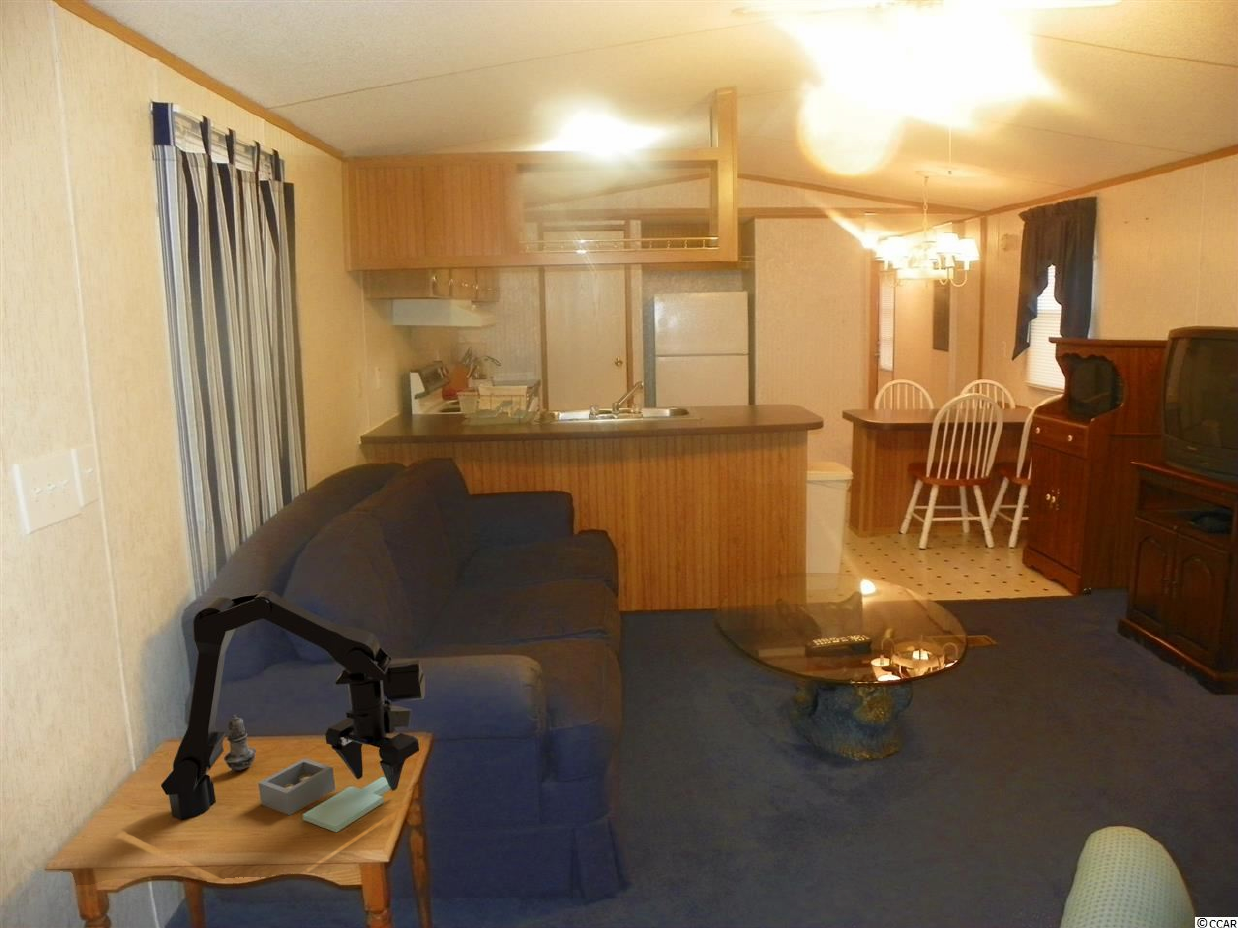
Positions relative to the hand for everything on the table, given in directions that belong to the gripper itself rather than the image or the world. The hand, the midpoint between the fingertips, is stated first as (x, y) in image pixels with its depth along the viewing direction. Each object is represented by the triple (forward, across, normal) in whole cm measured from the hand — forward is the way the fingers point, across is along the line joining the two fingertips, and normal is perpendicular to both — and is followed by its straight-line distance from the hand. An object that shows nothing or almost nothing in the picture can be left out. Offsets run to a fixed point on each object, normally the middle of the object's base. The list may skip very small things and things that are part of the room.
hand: (376, 783), depth 166 cm
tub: (+2, +12, +8) cm, 15 cm away
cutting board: (+2, 0, +5) cm, 6 cm away
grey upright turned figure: (+2, +32, +6) cm, 33 cm away
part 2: (+1, +12, +6) cm, 13 cm away
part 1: (+1, +12, +10) cm, 16 cm away
